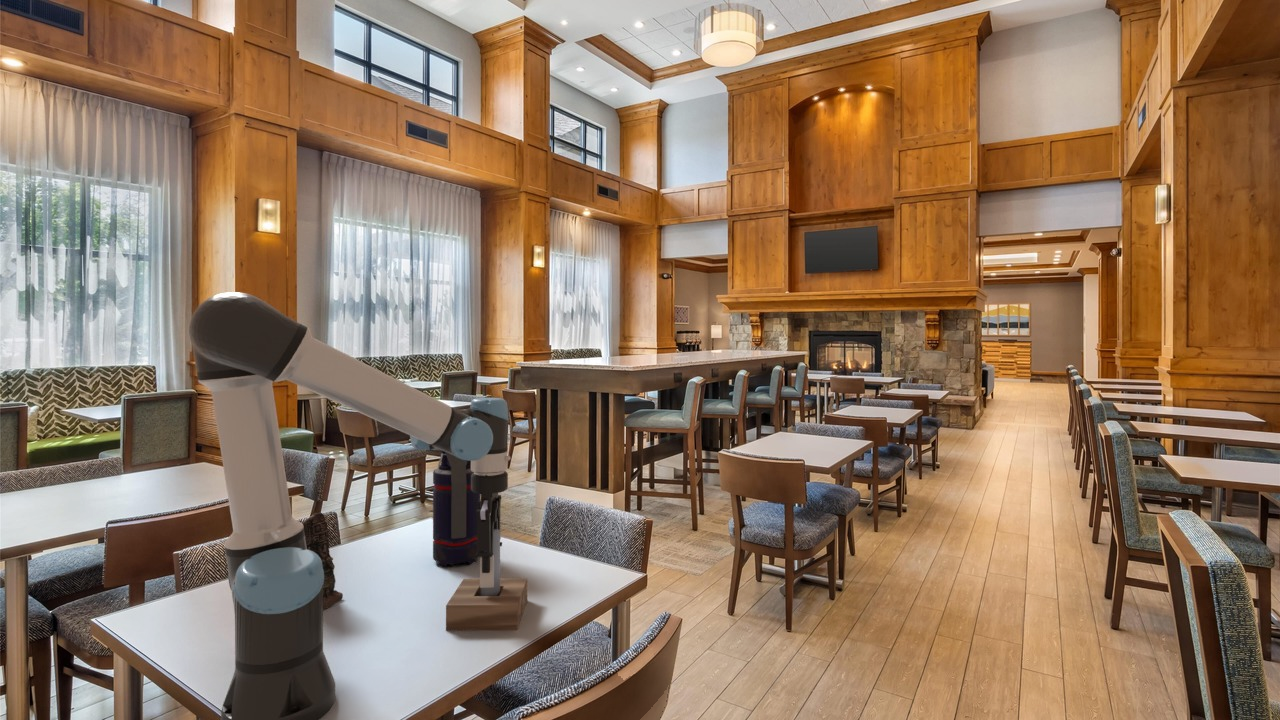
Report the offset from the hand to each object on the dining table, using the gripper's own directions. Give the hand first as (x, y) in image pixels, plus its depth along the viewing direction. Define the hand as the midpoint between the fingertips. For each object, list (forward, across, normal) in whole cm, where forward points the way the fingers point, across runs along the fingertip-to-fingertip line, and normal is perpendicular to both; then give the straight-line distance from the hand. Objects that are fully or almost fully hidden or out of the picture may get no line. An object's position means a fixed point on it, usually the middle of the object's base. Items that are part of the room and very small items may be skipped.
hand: (489, 582), depth 127 cm
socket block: (+7, 0, 0) cm, 7 cm away
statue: (+7, +6, +38) cm, 39 cm away
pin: (+5, 0, 0) cm, 5 cm away
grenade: (+7, +32, +15) cm, 36 cm away
